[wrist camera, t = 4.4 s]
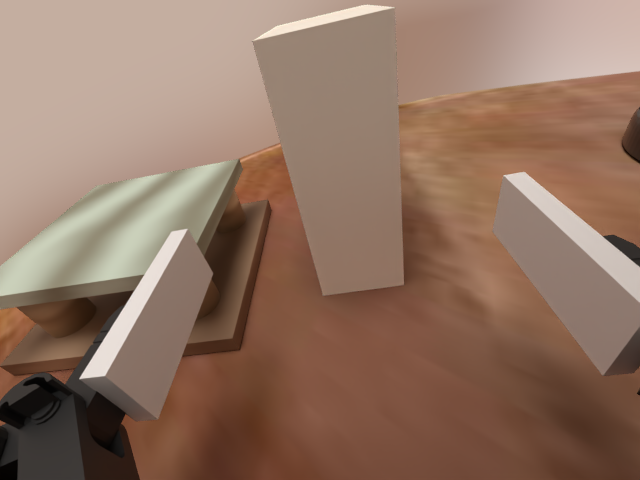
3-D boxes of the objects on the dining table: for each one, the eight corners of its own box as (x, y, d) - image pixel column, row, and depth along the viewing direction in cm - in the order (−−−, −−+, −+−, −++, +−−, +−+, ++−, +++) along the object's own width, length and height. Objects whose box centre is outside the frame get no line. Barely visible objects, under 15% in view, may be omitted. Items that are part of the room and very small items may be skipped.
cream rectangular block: (382, 211, 27) (365, 4, 18) (404, 285, 20) (394, 7, 11) (321, 221, 28) (277, 25, 19) (323, 295, 21) (252, 41, 12)
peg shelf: (271, 209, 31) (251, 152, 28) (239, 349, 19) (195, 279, 15) (129, 233, 33) (93, 182, 29) (13, 375, 21) (-76, 318, 17)
